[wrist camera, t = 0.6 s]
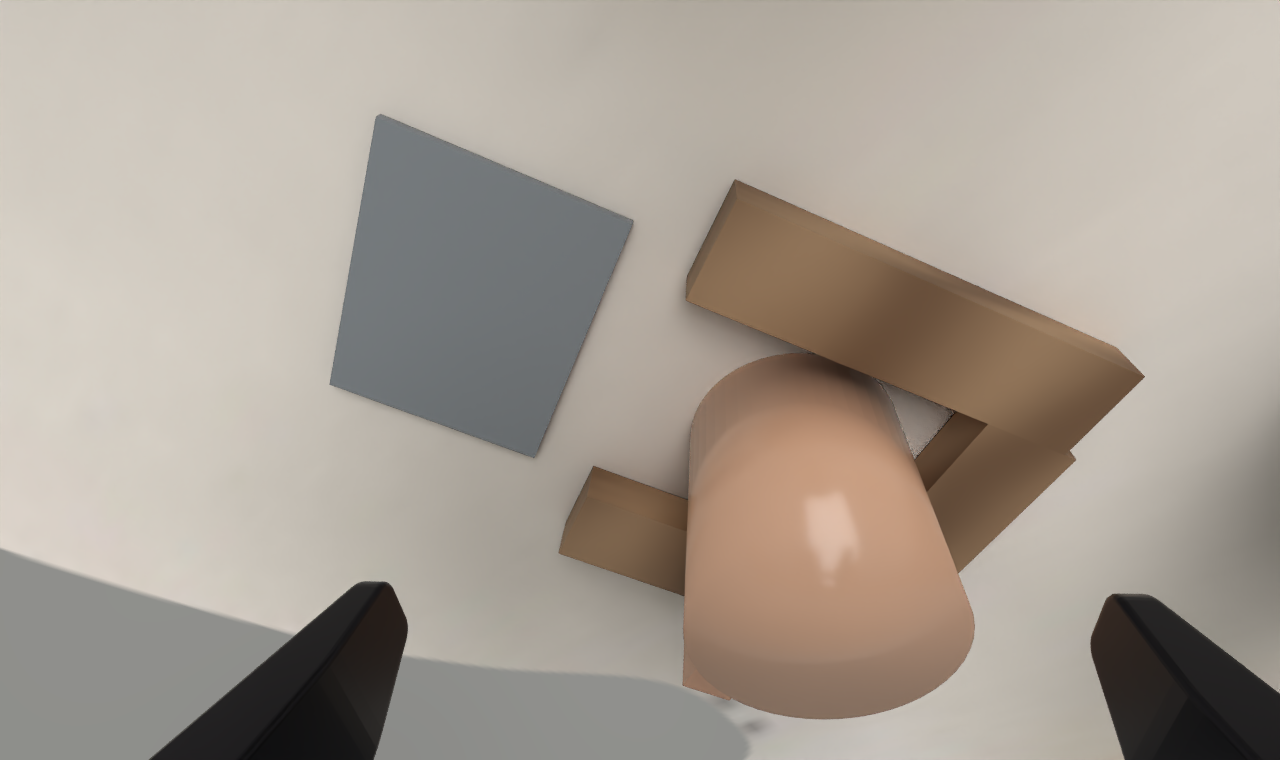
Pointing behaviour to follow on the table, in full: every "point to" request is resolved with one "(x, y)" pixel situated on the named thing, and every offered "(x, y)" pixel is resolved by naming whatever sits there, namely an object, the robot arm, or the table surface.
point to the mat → (469, 288)
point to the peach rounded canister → (814, 548)
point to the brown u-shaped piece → (879, 377)
